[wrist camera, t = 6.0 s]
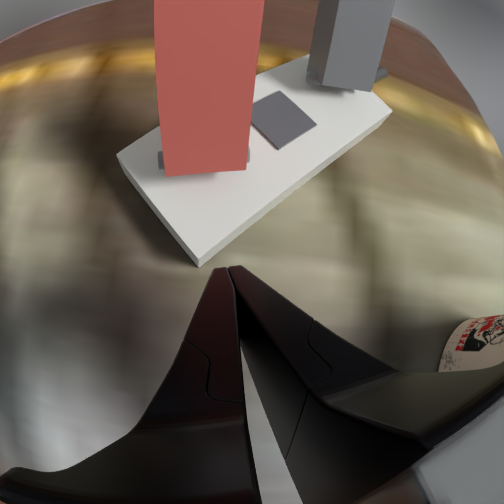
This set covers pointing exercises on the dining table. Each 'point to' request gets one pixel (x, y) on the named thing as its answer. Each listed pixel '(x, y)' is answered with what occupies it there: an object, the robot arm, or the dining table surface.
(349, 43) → the block
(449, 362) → the teacup with lid
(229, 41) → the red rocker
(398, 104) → the dining table surface
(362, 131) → the power strip
